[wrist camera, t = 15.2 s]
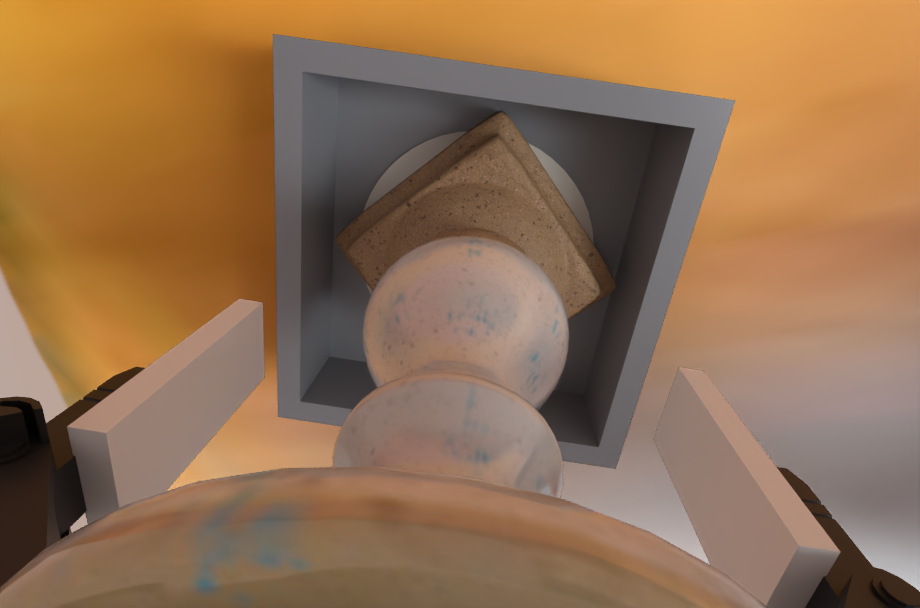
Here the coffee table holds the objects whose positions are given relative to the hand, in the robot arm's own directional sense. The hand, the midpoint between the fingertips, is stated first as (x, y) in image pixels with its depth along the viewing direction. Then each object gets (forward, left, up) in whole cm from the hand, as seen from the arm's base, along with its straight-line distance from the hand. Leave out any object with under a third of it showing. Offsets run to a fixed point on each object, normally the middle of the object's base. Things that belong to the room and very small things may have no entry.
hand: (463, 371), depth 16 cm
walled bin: (0, 0, -14) cm, 14 cm away
